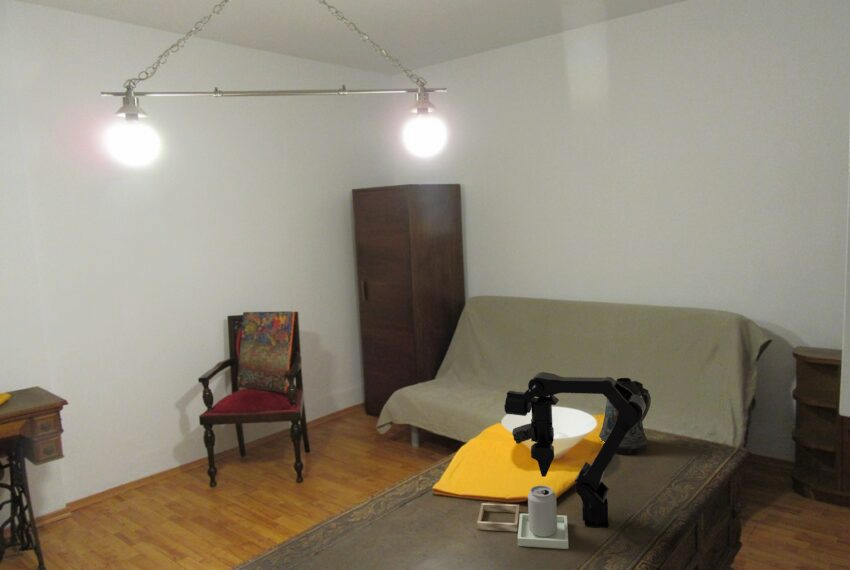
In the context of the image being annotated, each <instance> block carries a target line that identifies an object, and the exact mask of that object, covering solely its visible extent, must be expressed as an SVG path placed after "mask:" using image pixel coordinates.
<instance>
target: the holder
mask: <svg viewBox="0 0 850 570" xmlns="http://www.w3.org/2000/svg"><path fill="white" fill-rule="evenodd" d="M485 512H494V513H495V512H496V513H515V516H514V522H500V521H499V522H498V521H483V518H484V515H485ZM519 517H520V504H506V503H505V504H504V503H488V502H487V503H485V502H483V503H481V505H480V509H479V513H478V517H477V521H476V528H477V529H476V530H480V531H481V530H482V531H496V532H497V531H501V532H515V533H518V528H519Z"/></svg>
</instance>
